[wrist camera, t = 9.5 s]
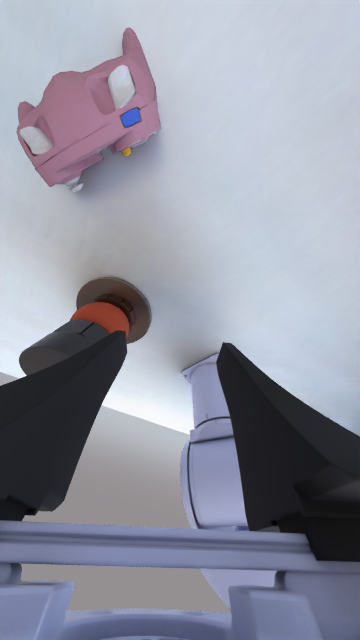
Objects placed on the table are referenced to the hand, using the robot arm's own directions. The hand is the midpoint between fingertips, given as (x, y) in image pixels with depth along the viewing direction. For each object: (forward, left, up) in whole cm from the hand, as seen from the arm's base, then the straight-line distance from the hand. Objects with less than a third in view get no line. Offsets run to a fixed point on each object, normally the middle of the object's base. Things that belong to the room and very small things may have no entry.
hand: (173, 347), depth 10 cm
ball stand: (+4, +8, -9) cm, 13 cm away
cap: (+4, +8, -3) cm, 9 cm away
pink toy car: (+15, -4, -10) cm, 18 cm away
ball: (+4, +8, -5) cm, 10 cm away
